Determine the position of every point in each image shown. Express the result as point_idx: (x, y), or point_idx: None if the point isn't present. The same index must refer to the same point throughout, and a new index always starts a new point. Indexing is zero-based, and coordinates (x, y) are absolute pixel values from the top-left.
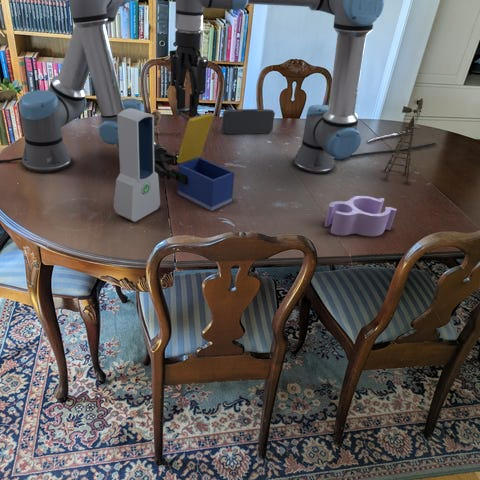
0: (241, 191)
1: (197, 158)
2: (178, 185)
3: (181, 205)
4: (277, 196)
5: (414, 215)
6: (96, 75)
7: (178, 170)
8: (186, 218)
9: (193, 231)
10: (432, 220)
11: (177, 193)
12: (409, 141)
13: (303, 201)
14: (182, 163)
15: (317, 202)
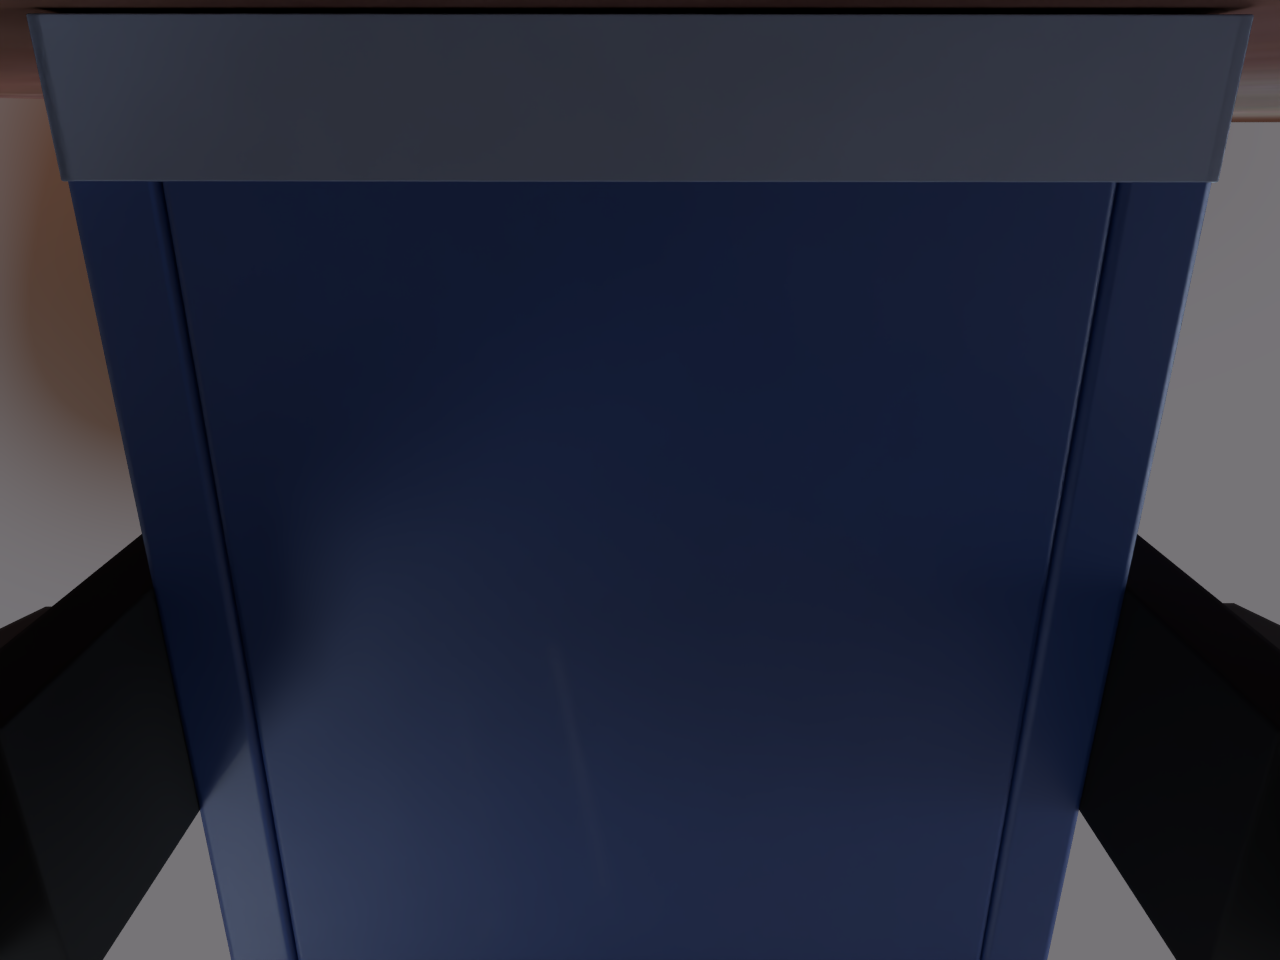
0: (1256, 85)
1: (920, 945)
2: (132, 377)
3: (5, 65)
4: (1264, 101)
5: (1273, 119)
6: None
7: (216, 826)
8: (6, 87)
9: (30, 98)
10: (1246, 120)
11: (30, 15)
12: None
13: (1236, 108)
14: (381, 954)
15: (1259, 110)
